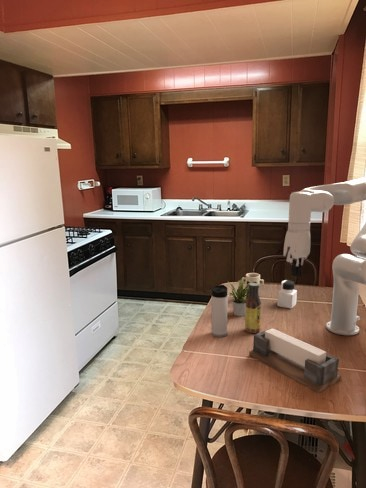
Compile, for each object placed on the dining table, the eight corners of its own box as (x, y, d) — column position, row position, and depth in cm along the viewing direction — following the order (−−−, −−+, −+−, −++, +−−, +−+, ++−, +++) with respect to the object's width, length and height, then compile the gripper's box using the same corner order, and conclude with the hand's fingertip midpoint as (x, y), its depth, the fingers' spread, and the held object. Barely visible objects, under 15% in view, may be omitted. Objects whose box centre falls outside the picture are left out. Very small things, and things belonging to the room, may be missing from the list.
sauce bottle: (260, 334, 159) (261, 287, 154) (244, 333, 160) (245, 286, 155) (260, 327, 165) (262, 282, 160) (245, 326, 166) (246, 281, 162)
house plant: (263, 319, 173) (264, 283, 170) (234, 323, 169) (235, 287, 166) (249, 307, 187) (250, 274, 183) (221, 310, 183) (222, 277, 179)
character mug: (239, 301, 195) (240, 275, 192) (243, 296, 201) (243, 271, 198) (261, 303, 191) (262, 278, 188) (264, 298, 197) (265, 274, 194)
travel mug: (229, 331, 161) (230, 285, 157) (223, 338, 155) (224, 290, 151) (214, 329, 164) (215, 283, 159) (209, 335, 158) (209, 288, 153)
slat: (264, 346, 141) (265, 331, 140) (271, 343, 144) (272, 328, 142) (317, 373, 124) (318, 355, 123) (324, 368, 127) (326, 351, 125)
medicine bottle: (296, 304, 190) (297, 280, 187) (291, 309, 184) (293, 284, 181) (281, 301, 193) (283, 278, 191) (277, 306, 188) (278, 282, 185)
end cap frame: (271, 345, 150) (272, 327, 148) (340, 379, 127) (342, 358, 125) (249, 355, 143) (249, 336, 141) (318, 392, 120) (320, 370, 118)
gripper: (303, 222, 148) (300, 269, 153) (277, 227, 140) (274, 277, 144) (320, 225, 143) (317, 274, 147) (294, 230, 134) (291, 282, 138)
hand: (296, 275), depth 145 cm, fingers closed
